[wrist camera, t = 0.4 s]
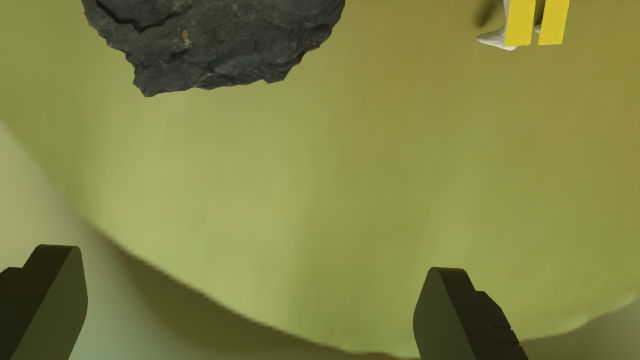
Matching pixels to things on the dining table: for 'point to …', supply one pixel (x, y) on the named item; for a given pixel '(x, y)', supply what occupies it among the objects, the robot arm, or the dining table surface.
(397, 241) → the dining table surface
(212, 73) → the rock
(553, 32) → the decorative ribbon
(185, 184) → the dining table surface
